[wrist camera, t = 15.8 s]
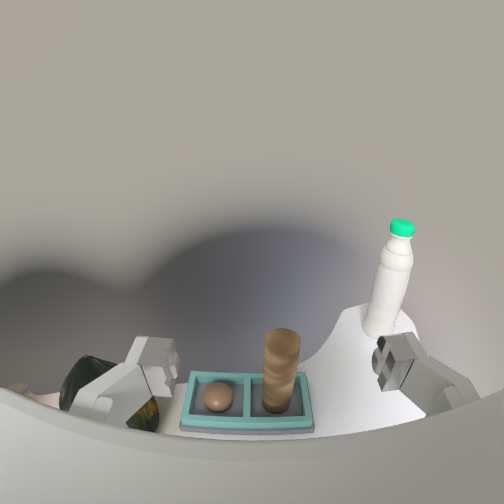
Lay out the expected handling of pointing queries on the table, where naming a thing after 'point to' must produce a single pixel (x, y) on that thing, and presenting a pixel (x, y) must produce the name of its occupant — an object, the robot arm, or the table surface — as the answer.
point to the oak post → (279, 369)
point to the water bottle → (390, 280)
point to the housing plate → (242, 406)
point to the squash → (91, 370)
